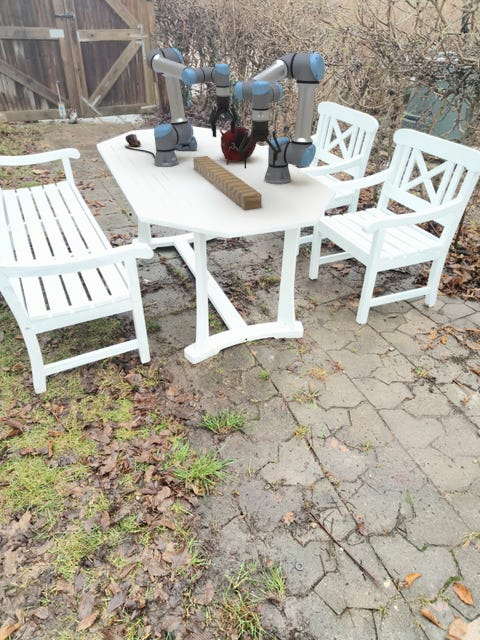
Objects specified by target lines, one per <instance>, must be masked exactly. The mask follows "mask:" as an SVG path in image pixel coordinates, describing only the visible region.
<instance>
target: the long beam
mask: <svg viewBox="0 0 480 640" xmlns="http://www.w3.org/2000/svg"><path fill="white" fill-rule="evenodd" d="M192 160H193V169H194V170H195V171H196V172H198V174H200V175H201V176H202V177H204V179H206V180H207V181H208V182H210V183H211V184H212V185H213V186H215V187H216V188H217V190H220V192H222V193H223V194H225V195H226V196H227V198H229V199H230V200H232V201H233V202H234V203H235V204H236V205H237V206H239V207H240V208H242V209H243V210H244V211H249V210H256V209H261V208H262V202H263V201H262V200H263V198H262V197H263V196H262V193H261V192H259V191H257V189H255V188H253V187H252V186H251V185H249V184H248V183H246V182H245V181H244V180H243V179H241V178H239V177H237V176H236V175H235V174H234V173H232V172H231V171H229V170H228V169H227V168H225V167H224V166H222V165H221V164H219V163H218V162H217V161H215V160H214V159H212V158H211V157H209V156H208V155H204V156H203V155H202V156H194V157H193V159H192Z"/></svg>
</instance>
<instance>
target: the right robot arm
mask: <svg viewBox="0 0 480 640" xmlns="http://www.w3.org/2000/svg"><path fill="white" fill-rule="evenodd" d="M325 67H326V66H325V60H324V57H323V56H322V55H321V54H320V53H314V52H290V53H287V54H284V55H282V56H280V57H278V58H276V59H274V61H272V63H271V65H270V66H268V67H267V68H265V69H263V70H262V71H260V72H259V73H258V74H256V75H254V76H253V77H251V78H250V79H248V80H247V81H238V82H237V83H236V84H235V87H234V96H235V98H236V99H238V100H242V101H250V102H251V103H252V107H251V109H252V110H251V118H252V122H251V131H250V132H248V131H246V132H245V137H244V139H243V141H242V143H241V145H240V147H239V149H238V152H239V153H242V161H241V162H244V169H247V159H246V153H245V152H246V151H247V150H248V149H249V147H250V146H251V145H252V144H253V143H254V142H255V141H256V142H257V143H259V142H261V143H264V142H265V143H267V145H268V152H267V153H268V157H267V159H268V161H267V168H266V171H265V175H264V181H265V182H266V183H268V184H273V185H280V184H281V185H283V184H288V183H290V182H291V180H292V177H291V172H290V168H289V165H293V166H300V167H309V166H310V165H311V164H312V163H313V161H314V159H315V157H316V152H317V147H316V145H315V144H314V143H313V142H314V140H313V139H312V137H311V134H312V125H313V116H314V106H315V95H316V88H317V87H318V86H319V84H320V81H322V80H323V79H324V75H325V72H326V71H325V69H326V68H325ZM285 79H290V80H291V79H292V80H293V79H294V80H296V82H295V84H296V85H297V87H298V91H297V92H298V93H297V103H296V104H297V105H296V114H295V115H296V116H295V128H294V136H293V137H292V138H291V140H290V137H277V136H276V131H275V130H272V131H270V130H269V126H270V124H269V123H270V121H269V119H270V104H272V103H277V102H278V101H280V100H282V98H283V96H284V88H283V86H282V85H281V84H280V83H277V82H278V81H283V80H285ZM250 135H252V137H253V138H252V139H251V141H250V142H249V143H248V144H247V146H246V147H245V148H244V149H243V150H242V148H243V146H244V144H245V142H246V140H247V137H249V136H250ZM269 136H270V137H272V139H269V138H268V137H269Z"/></svg>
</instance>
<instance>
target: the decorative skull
mask: <svg viewBox="0 0 480 640" xmlns="http://www.w3.org/2000/svg"><path fill="white" fill-rule="evenodd" d="M246 131H248V132H251V131H250V130H249V129H248V128H246V127H243V126H235V134H232V133H231V128H229V129H228V130H226V131H224V132H223V130H221V129H220V130H219V132H220V134H221V136H220V150H221V152H222V154H223V157H224V159H225V160H226V165H229V162H243V161H242V153H239V152H238V149H239V147H240V145H241V143H242V141H243V139H244V137H245V132H246ZM252 138H253V137H252V135H250V136H249V137H247V140H246V142H245V144H244V146H243V148H242V150H243V149H244V148H245V147H246V146H247V144H248V143H249V142H250V141H251V139H252ZM257 143H258V142H256V141H255V142H254V143H253V144H252V145H251V146H250V147H249V149H248V150H247V151H246V152H245V153H246V160H248V159H249V158H250V157H251V156H252V155H253V154H254V151H255V149H256V146H257Z"/></svg>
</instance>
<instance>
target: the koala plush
mask: <svg viewBox="0 0 480 640" xmlns="http://www.w3.org/2000/svg"><path fill="white" fill-rule="evenodd" d="M197 149H198V141H197V138H196V136H194V135H193V138H192V139H191V141H189V142H186V143H182V144H177V145H174V150H178V151H191V152H193V151H197Z"/></svg>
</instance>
